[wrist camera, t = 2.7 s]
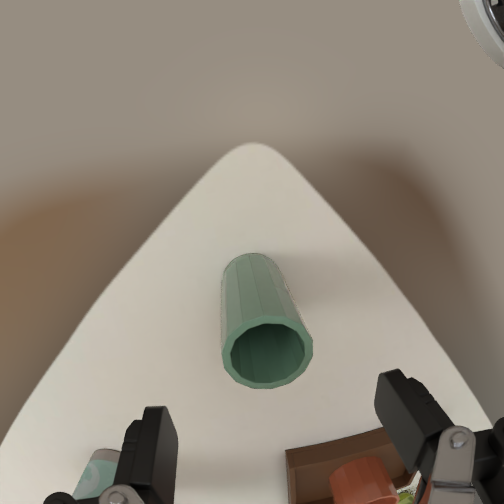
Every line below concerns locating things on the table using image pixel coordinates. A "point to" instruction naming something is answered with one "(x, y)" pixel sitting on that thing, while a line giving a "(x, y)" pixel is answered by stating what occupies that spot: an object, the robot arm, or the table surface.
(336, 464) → the tray
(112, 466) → the coffee cup
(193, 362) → the table surface
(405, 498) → the saucer
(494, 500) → the robot arm
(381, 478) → the tumbler
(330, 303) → the table surface
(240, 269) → the small cup
